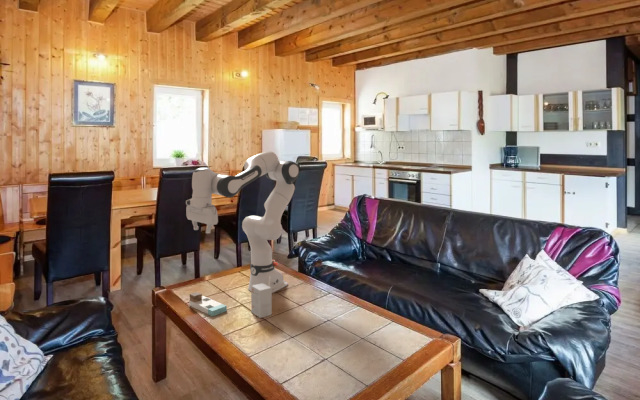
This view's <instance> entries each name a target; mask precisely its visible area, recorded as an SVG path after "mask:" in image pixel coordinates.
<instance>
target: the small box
mask: <svg viewBox="0 0 640 400" xmlns="http://www.w3.org/2000/svg"><path fill="white" fill-rule="evenodd" d="M250 292H251V303H250V304H251V306H250V308H251V310H250V311H251V313H252V314H254V315H255V316H257V317H258V318H260V319H261V318H265V317H268V316H271V315H272V312H273V311H272V309H273V307H272V305H273V304H272V303H273V302H272V301H273V296H272V295H273V293H272V288H271V287H269V286H267V285H265V284H263V283H261V284H257V285H252V287H251V291H250Z"/></svg>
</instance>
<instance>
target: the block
mask: <svg viewBox="0 0 640 400" xmlns="http://www.w3.org/2000/svg"><path fill="white" fill-rule="evenodd" d="M202 296H203V294H202V293H201V292H198V291H195V292H192V293H189V301H192V302H194V303H195V302H198V301H201V300H202Z"/></svg>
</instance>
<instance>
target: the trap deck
mask: <svg viewBox="0 0 640 400" xmlns="http://www.w3.org/2000/svg"><path fill="white" fill-rule="evenodd" d="M188 302H189V306H190V307H192V308H194V309H196V310H198V311H200V312H203V313H204V314H206V315H208V316H210V317H214V316H217V315H219V314H222V313H225V312H227V311H228V308H227V305H226V304H223V303H221V302H219V301H216V300H214V299H213V298H212V299H211V298H210V297H207V296H204V295H202V300H201V301H198V302H195V303H194V302H192V301H190V300H189V301H188Z"/></svg>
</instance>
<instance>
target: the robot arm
mask: <svg viewBox="0 0 640 400" xmlns="http://www.w3.org/2000/svg"><path fill="white" fill-rule="evenodd" d="M243 166H244V167H243V168H244V171H242V172H240V173H238V174H237V175H225V174H219V173H217V172H215V171H213V170H212V169H210V167H199V168H196V169H194V170H193V171H192V177H191V178H192V179H191V188H192V194H191V196H192V197H191V198H189V199H187V200H185V205H186V208H185V209H186V210H185V211H186V212H185V213H186V214H185V216H186V218H187V220H189V221H191V223H192V226H193V230H194V231H198V230H199V227H200V226H198V223H202V224H205V225H206V229H205V234H211V231H212V227H213V226H214V225H218V223H219V215H218V214H219V213H218V210H217V208H216V206H215V205H214V204H213V203H212V202H213V201H212V200H213V199H212V196H213V194H214V195H218V196H222V197H225V198H233V197H235V196H237V195H238V194H239V192H240V191H241V190H242V189H243V188H245V187H246V186H248V185H249V184H251V183H253V182H255V181H256V180H258V178H260V177H262V176H265V177H266V178H267V179H269V180H271V181H275V182H276V183H275V186H274V188H273V189H272V191H271V192H270V193H269V196H268V197H267V199H265V200H266V201H265V202H264V204H263V206H264V209H265V213H264V215H263V216H259V215H249V216H245V218H244V219H243V220H242V222H241V224H242V225H241V228H242V231H243V232H244V233H245V234H246V237H247V239H248V242H249V246H250V261H251V262H249V263H250V275H249V283H248V287H247V290H248V291H250V292H251V287H252V285H257V284H261V283H263V284H265V285H267V286H269V287H271V288H272V294H273V293H275V292H278V291H279V290H282V289H284V288H285V287H286V286H288V284H289V283H288V282H287V281H286V280H284V275H283V273H282V272H280V271H279V270H278V269H276V268H275V267H277V266H278V265H279V263H278V262H275V261H274V262H273V248H272V246H271V245H270V243H269V242H268V241H274V240H278V239H279V238H280V237H281V236H282V233H283V226H282V224H281V223H282V221H281V220H282V218H283V217H282V216H283V213H284V211H285V210H286V208H287V206H288V205H289V203H290V202H291V200H292V198H293V196H294V192H295V191H296V187H295V182H297V180H298V177H299V174H300V167H299V165H298V163H296V162H295V161H292V160H279V157H278V155H277V154H276V153H275V152H274V151H272V150H271V151H270V150H269V151H264V152H260V153H257V154H256V155H253V156H251V157H248V159H246V160H245V161H244V164H243Z"/></svg>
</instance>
